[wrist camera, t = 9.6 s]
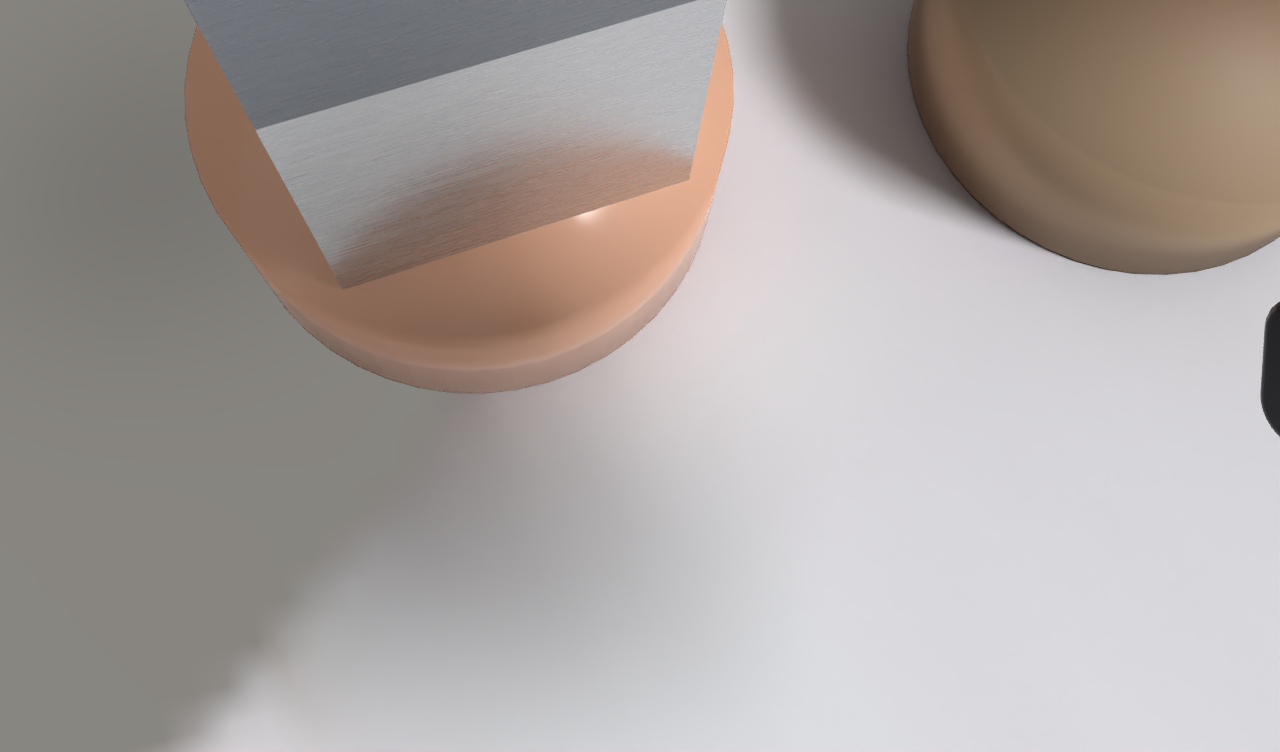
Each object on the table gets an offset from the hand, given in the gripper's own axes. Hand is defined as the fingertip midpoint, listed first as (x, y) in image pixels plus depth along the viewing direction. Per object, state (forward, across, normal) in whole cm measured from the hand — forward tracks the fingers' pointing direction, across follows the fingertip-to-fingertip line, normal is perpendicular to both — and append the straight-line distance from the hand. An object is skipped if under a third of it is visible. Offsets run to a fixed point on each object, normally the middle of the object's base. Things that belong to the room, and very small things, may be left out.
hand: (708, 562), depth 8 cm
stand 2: (+10, -10, +2) cm, 14 cm away
